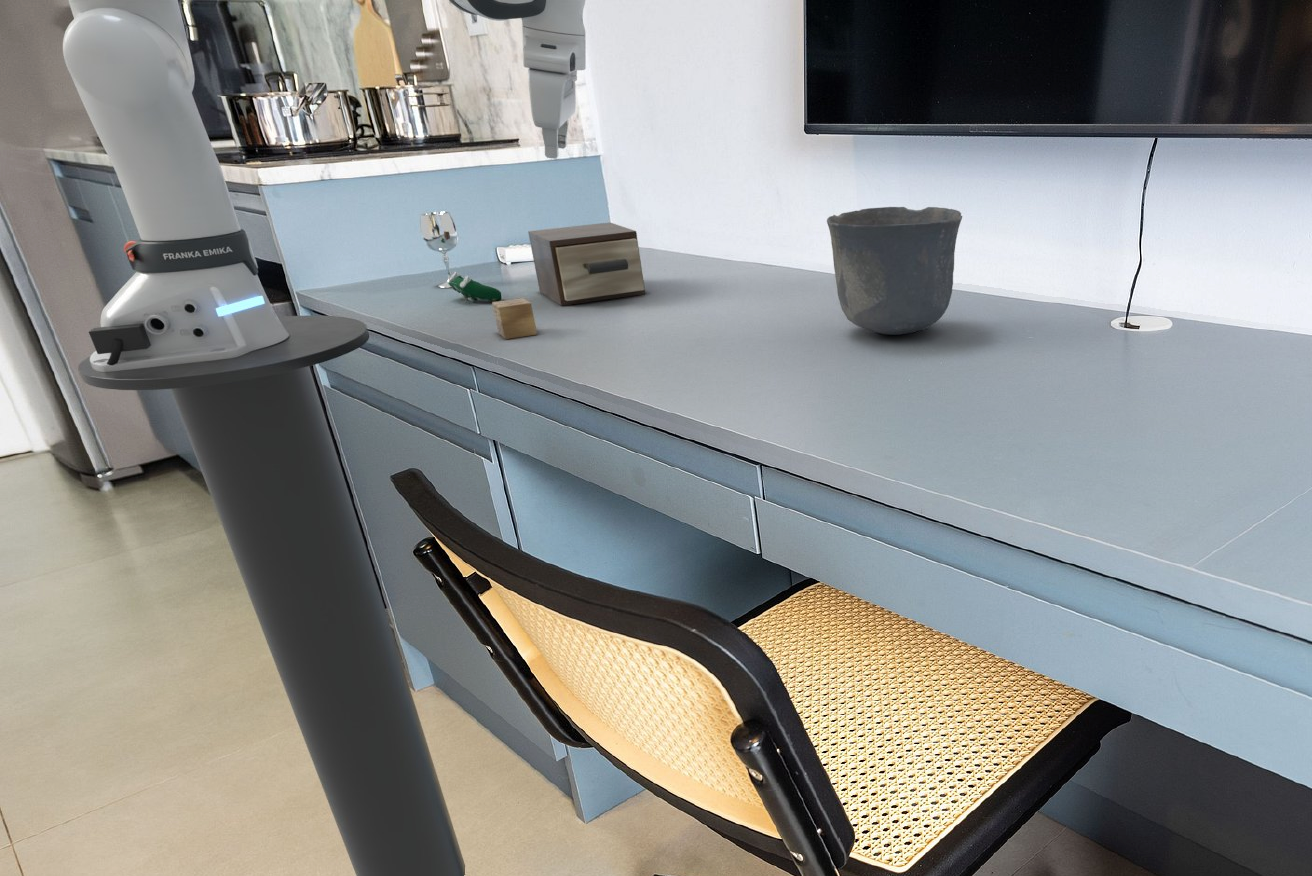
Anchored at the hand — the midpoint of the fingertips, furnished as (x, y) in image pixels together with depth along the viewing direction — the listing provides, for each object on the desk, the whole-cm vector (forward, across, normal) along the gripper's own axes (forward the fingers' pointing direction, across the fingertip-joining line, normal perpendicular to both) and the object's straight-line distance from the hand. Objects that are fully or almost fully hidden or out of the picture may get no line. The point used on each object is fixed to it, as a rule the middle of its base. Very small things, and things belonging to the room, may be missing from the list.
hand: (556, 152), depth 155 cm
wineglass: (+27, -15, -20) cm, 37 cm away
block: (+20, +28, -2) cm, 35 cm away
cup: (+10, +44, +50) cm, 67 cm away
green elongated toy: (+24, 0, -13) cm, 28 cm away
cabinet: (+21, +1, +6) cm, 22 cm away
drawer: (+19, +5, +7) cm, 21 cm away
